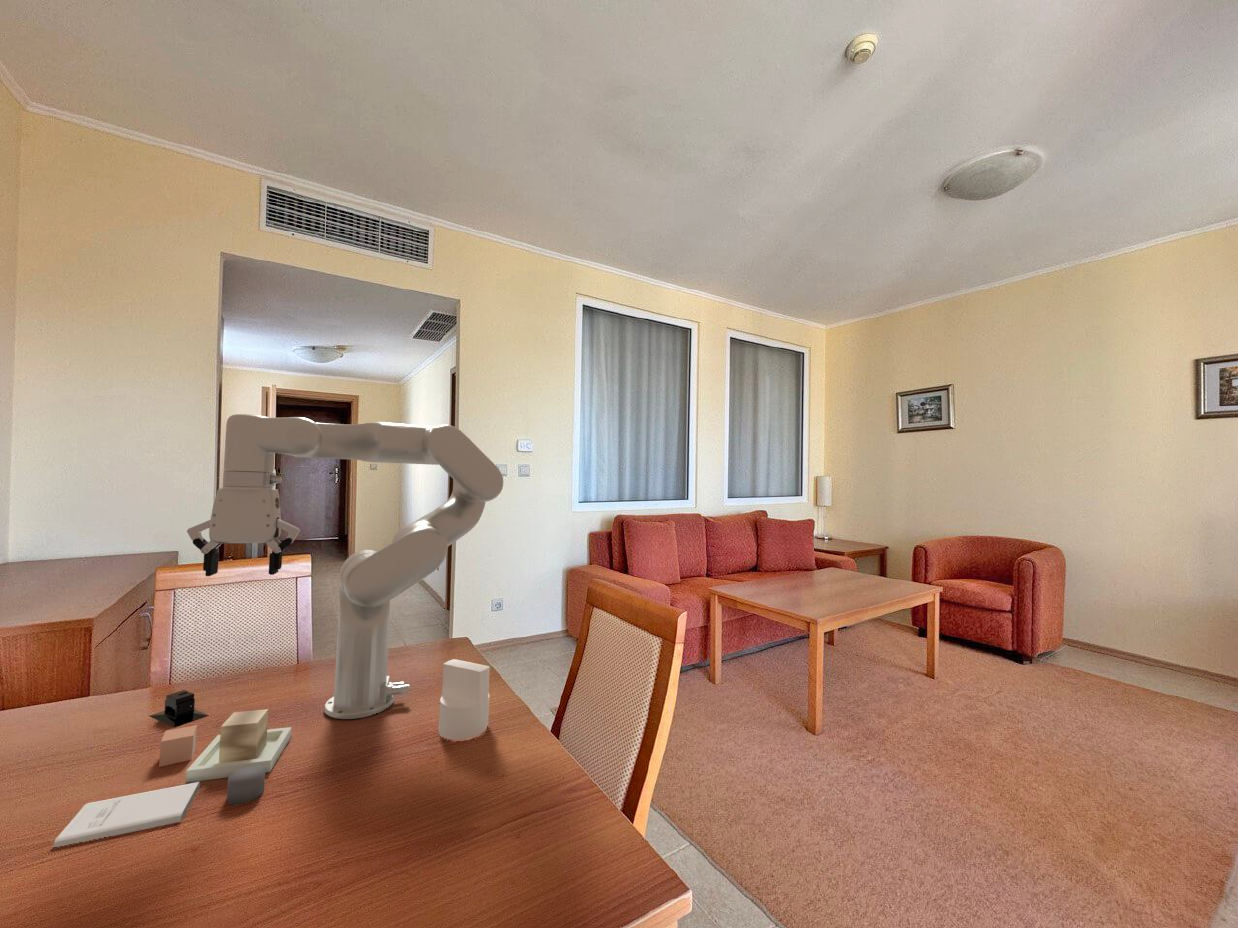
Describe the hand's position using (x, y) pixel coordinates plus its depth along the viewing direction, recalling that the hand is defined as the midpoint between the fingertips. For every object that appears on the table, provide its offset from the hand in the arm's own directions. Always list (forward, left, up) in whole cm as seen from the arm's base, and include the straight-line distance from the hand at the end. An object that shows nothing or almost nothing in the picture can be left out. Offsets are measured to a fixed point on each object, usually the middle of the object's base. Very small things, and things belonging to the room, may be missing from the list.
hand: (243, 574), depth 93 cm
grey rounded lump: (-9, +22, -28) cm, 37 cm away
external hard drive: (+4, +23, -29) cm, 37 cm away
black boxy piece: (+12, -9, -29) cm, 33 cm away
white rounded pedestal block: (-40, +10, -29) cm, 50 cm away
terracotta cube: (+5, +8, -28) cm, 30 cm away
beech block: (-5, +11, -28) cm, 30 cm away
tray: (-5, +11, -28) cm, 31 cm away
